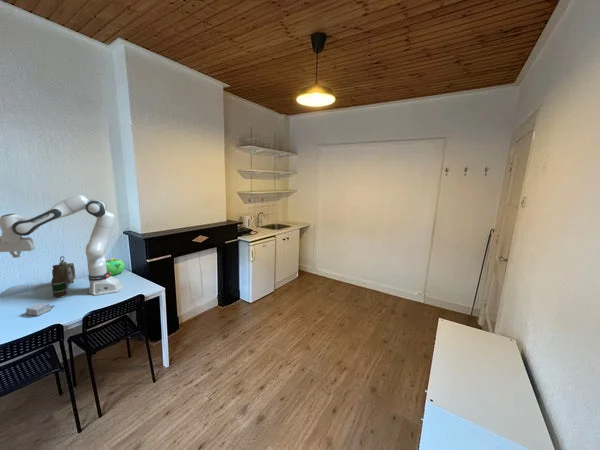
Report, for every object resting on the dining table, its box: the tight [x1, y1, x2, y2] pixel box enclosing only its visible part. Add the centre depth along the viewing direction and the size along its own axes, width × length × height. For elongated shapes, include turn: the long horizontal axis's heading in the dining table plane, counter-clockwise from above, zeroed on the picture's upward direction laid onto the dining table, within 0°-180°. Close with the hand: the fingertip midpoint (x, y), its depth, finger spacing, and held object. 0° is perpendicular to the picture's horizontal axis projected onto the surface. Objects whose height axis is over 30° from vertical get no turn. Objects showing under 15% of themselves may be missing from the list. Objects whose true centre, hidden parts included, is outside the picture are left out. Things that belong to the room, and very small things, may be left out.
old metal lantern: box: [51, 255, 76, 289], centre depth 203 cm, size 14×9×25 cm, turn 23°
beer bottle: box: [50, 264, 68, 299], centre depth 188 cm, size 8×8×24 cm
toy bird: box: [106, 257, 126, 276], centre depth 230 cm, size 18×17×15 cm
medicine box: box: [25, 302, 52, 317], centre depth 168 cm, size 8×4×9 cm
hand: (16, 257), depth 174 cm, fingers closed
